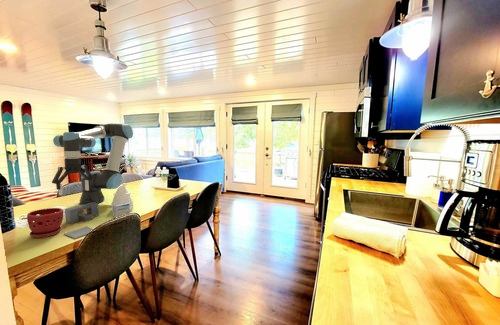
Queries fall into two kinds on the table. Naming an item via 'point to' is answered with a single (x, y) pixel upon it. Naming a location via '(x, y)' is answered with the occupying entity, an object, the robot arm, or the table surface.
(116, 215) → the medicine box
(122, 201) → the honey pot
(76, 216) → the block
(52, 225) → the plant pot
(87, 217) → the bar
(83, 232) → the slate tile
